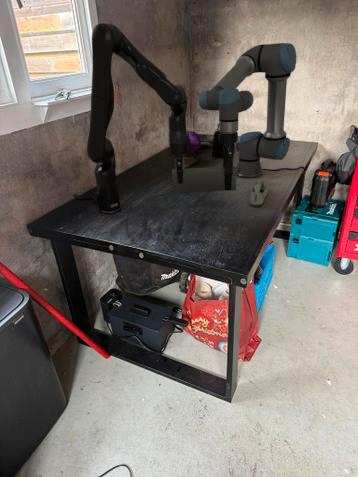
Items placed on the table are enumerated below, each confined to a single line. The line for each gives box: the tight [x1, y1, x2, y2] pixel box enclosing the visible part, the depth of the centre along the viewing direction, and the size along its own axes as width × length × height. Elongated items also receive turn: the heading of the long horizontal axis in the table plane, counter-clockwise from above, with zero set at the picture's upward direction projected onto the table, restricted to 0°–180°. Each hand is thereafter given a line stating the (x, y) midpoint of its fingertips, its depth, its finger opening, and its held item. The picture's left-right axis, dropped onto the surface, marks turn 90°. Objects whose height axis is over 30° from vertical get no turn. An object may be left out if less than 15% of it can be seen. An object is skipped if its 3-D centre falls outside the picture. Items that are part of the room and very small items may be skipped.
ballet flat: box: [249, 179, 269, 207], centre depth 158 cm, size 8×24×8 cm, turn 163°
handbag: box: [211, 126, 236, 159], centre depth 219 cm, size 21×9×25 cm, turn 148°
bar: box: [171, 165, 237, 194], centre depth 140 cm, size 27×5×9 cm, turn 90°
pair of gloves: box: [199, 133, 214, 149], centre depth 252 cm, size 30×26×5 cm
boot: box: [182, 130, 198, 169], centre depth 209 cm, size 9×24×20 cm, turn 168°
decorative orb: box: [187, 130, 202, 153], centre depth 230 cm, size 15×15×15 cm
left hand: (180, 180), depth 140 cm, fingers closed on bar, 5 cm apart
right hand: (227, 187), depth 141 cm, fingers closed on bar, 5 cm apart
